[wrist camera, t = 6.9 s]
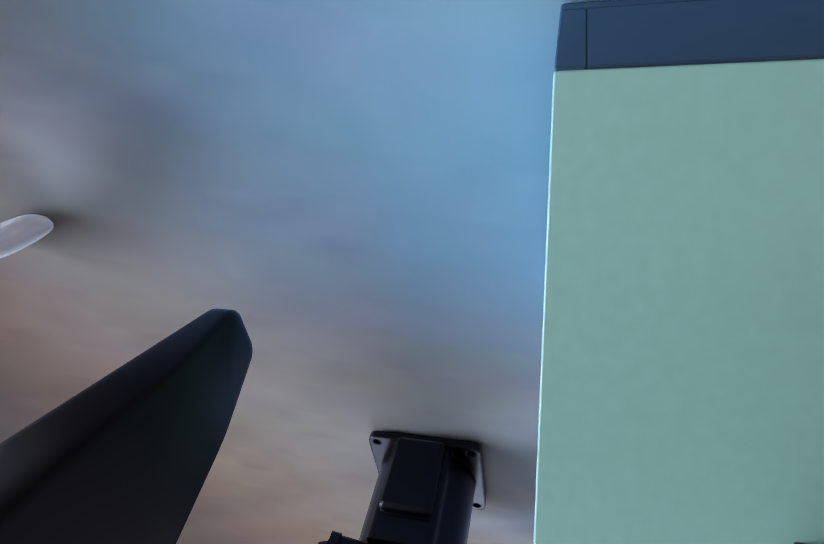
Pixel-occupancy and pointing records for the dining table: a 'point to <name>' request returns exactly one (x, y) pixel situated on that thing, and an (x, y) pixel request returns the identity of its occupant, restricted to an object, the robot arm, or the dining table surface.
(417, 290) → the dining table surface
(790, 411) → the lunchbox lid
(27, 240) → the spoon rest
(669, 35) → the lunchbox
